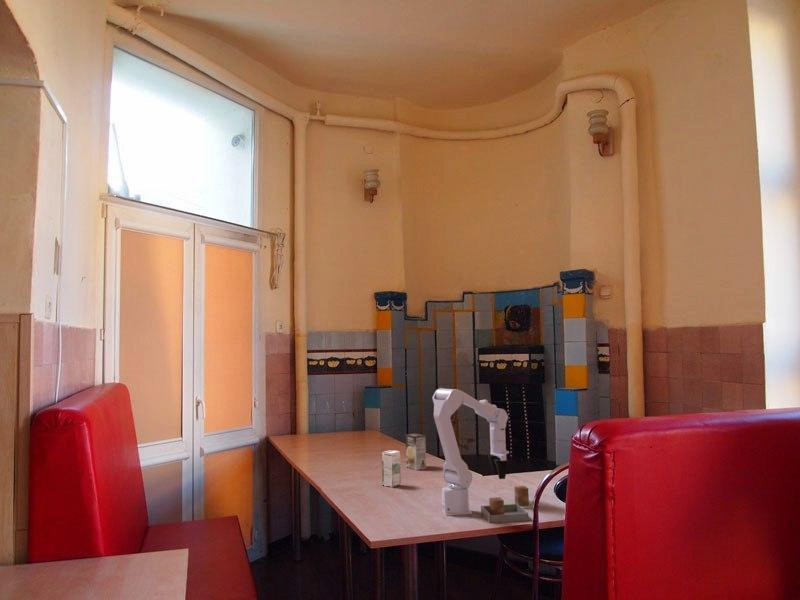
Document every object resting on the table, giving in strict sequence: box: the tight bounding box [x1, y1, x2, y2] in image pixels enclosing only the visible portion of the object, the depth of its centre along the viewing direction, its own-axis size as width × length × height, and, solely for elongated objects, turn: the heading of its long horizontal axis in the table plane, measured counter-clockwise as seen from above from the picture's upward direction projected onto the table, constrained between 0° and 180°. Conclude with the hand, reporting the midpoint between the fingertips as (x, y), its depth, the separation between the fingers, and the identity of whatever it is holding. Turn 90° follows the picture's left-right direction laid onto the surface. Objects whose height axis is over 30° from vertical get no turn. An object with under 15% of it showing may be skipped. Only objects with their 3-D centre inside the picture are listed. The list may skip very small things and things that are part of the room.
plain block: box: [488, 496, 505, 515], centre depth 202 cm, size 4×4×6 cm
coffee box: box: [404, 433, 427, 471], centre depth 286 cm, size 9×6×16 cm
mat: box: [505, 499, 534, 510], centre depth 215 cm, size 9×9×1 cm
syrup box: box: [381, 449, 402, 488], centre depth 252 cm, size 6×6×14 cm
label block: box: [514, 485, 530, 506], centre depth 215 cm, size 4×4×6 cm
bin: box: [480, 503, 529, 524], centre depth 202 cm, size 13×12×2 cm
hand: (499, 476), depth 222 cm, fingers open, 7 cm apart
